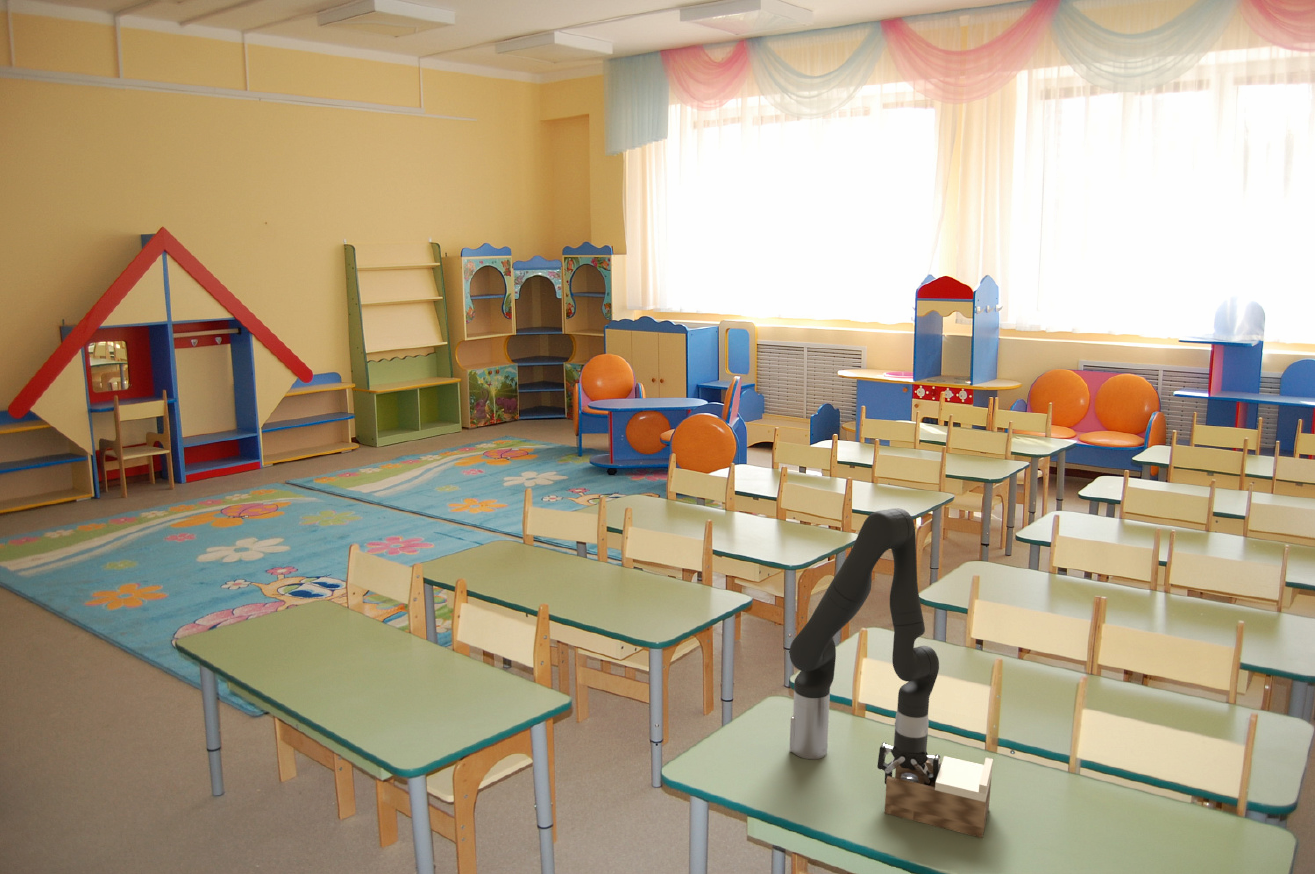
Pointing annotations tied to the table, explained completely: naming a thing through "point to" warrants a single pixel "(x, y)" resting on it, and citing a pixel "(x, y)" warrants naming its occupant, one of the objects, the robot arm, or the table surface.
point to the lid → (964, 778)
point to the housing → (934, 804)
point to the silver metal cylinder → (909, 777)
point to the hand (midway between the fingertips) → (907, 790)
